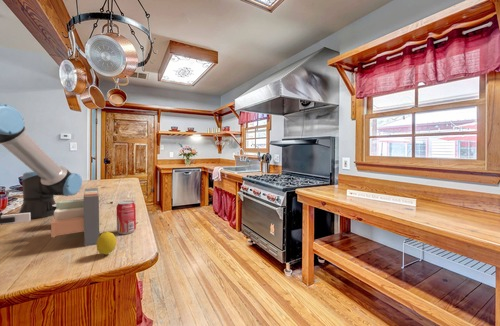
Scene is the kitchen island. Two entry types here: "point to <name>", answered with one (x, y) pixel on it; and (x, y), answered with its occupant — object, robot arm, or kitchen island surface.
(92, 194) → the key panel
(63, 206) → the sage key
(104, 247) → the lemon
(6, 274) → the kitchen island surface
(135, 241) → the kitchen island surface
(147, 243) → the kitchen island surface
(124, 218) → the soda can
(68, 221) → the terracotta key
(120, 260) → the kitchen island surface
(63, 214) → the ivory key
